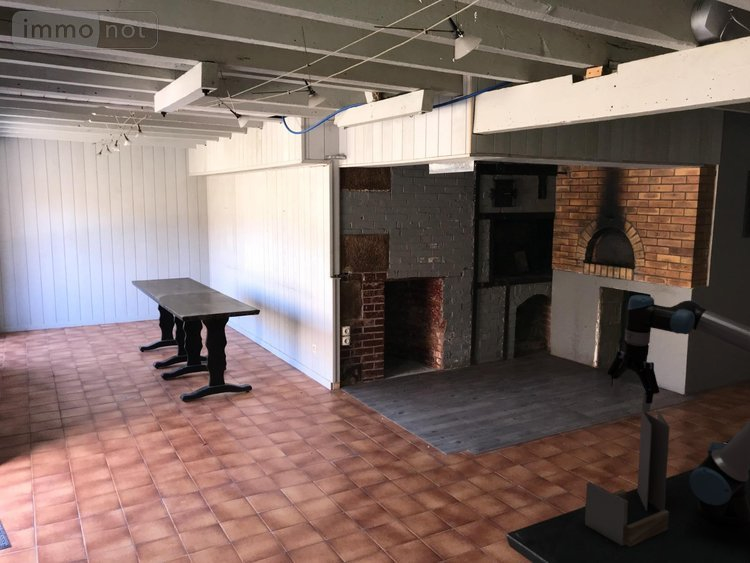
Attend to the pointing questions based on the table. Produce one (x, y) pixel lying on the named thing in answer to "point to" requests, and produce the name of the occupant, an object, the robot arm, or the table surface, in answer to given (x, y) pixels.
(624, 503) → the bookend
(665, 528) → the slot rails
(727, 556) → the table surface
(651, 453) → the brochure
